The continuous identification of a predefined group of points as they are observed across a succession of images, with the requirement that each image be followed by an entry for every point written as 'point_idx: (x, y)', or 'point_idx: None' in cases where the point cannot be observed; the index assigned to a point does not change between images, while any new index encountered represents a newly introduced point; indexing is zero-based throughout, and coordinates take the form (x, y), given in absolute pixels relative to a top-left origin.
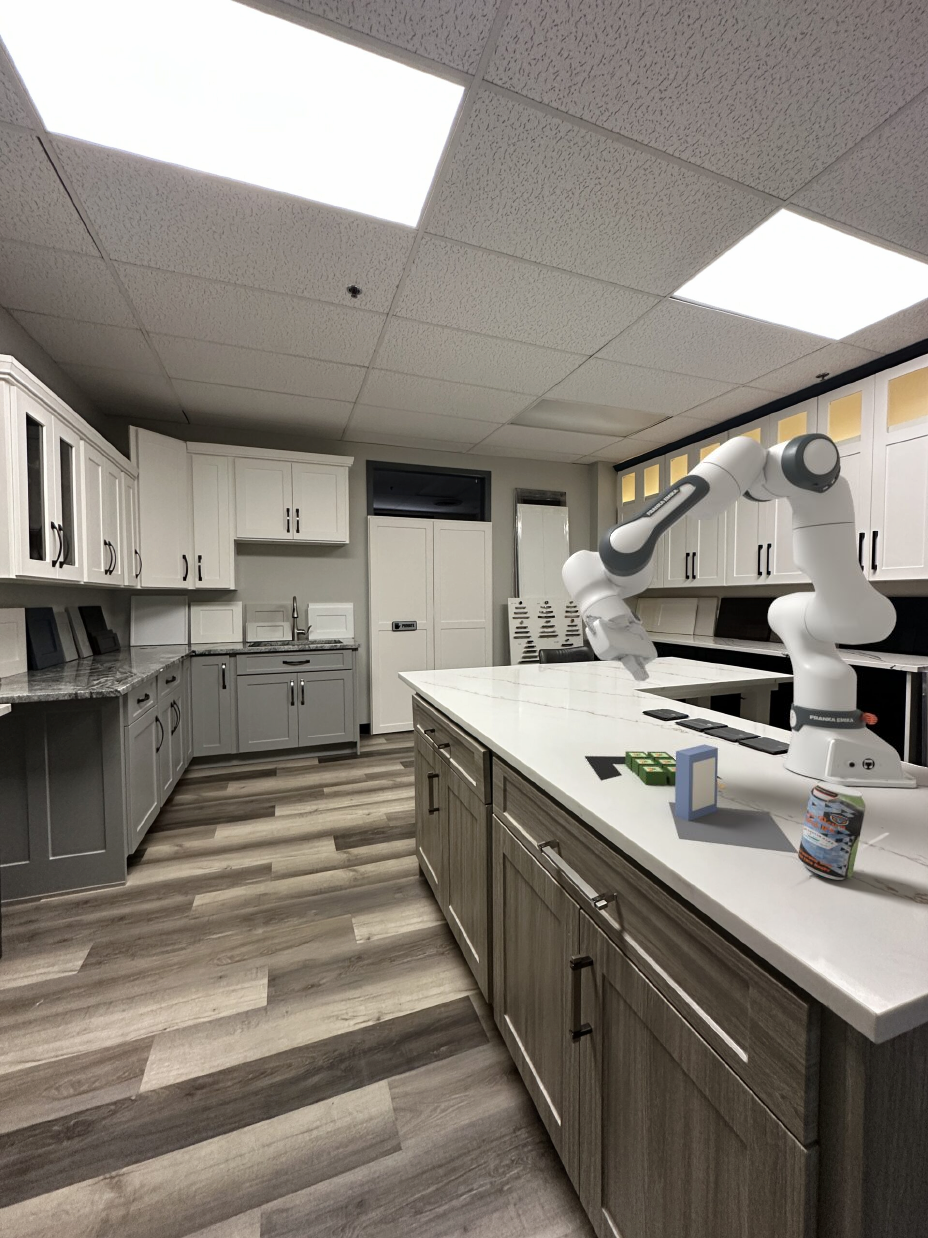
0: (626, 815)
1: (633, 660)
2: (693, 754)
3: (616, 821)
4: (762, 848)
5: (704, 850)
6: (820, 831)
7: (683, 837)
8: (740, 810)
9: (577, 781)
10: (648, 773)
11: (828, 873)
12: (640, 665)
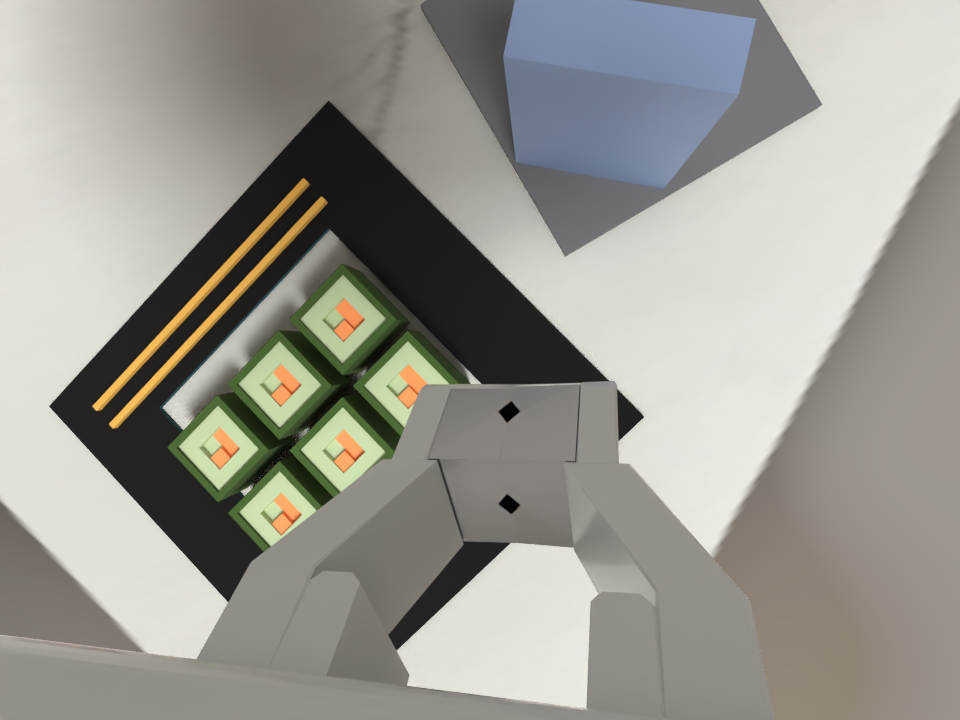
0: (754, 307)
1: (708, 590)
2: (720, 14)
3: (823, 305)
4: None
5: (820, 33)
6: None
7: (805, 98)
8: (468, 67)
9: None
10: (456, 379)
11: None
12: (374, 558)
